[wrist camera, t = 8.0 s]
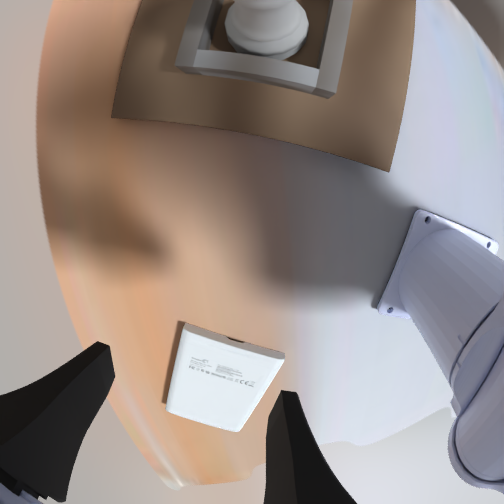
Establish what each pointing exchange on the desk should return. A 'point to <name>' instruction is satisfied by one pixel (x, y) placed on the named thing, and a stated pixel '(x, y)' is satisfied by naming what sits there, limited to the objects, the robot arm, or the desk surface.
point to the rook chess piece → (267, 27)
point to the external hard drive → (219, 378)
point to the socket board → (276, 75)
